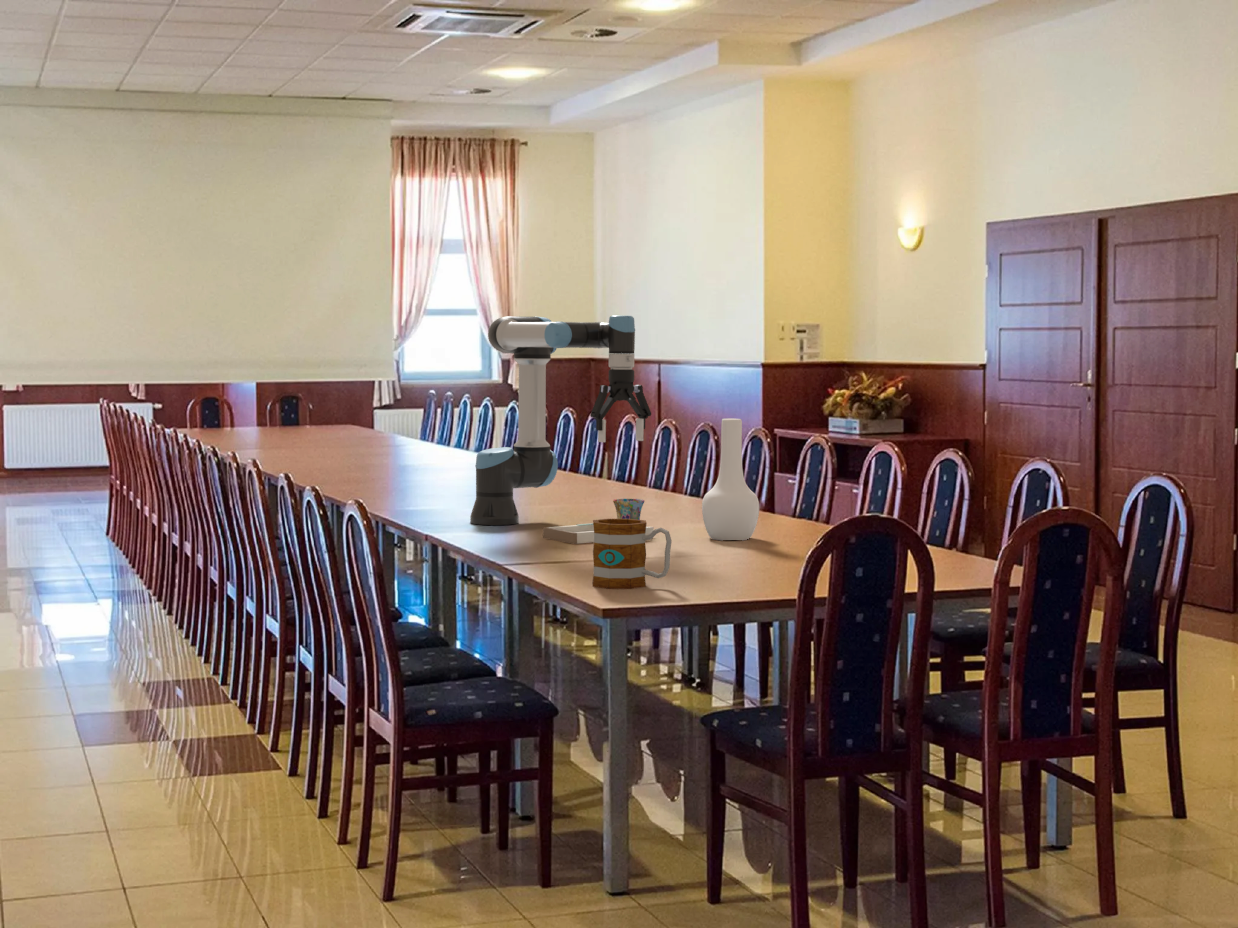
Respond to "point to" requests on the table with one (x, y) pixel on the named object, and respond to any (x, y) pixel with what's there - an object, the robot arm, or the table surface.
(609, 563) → the mug
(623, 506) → the mug
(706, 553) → the table surface
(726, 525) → the vase
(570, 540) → the teal-striped rail frame
